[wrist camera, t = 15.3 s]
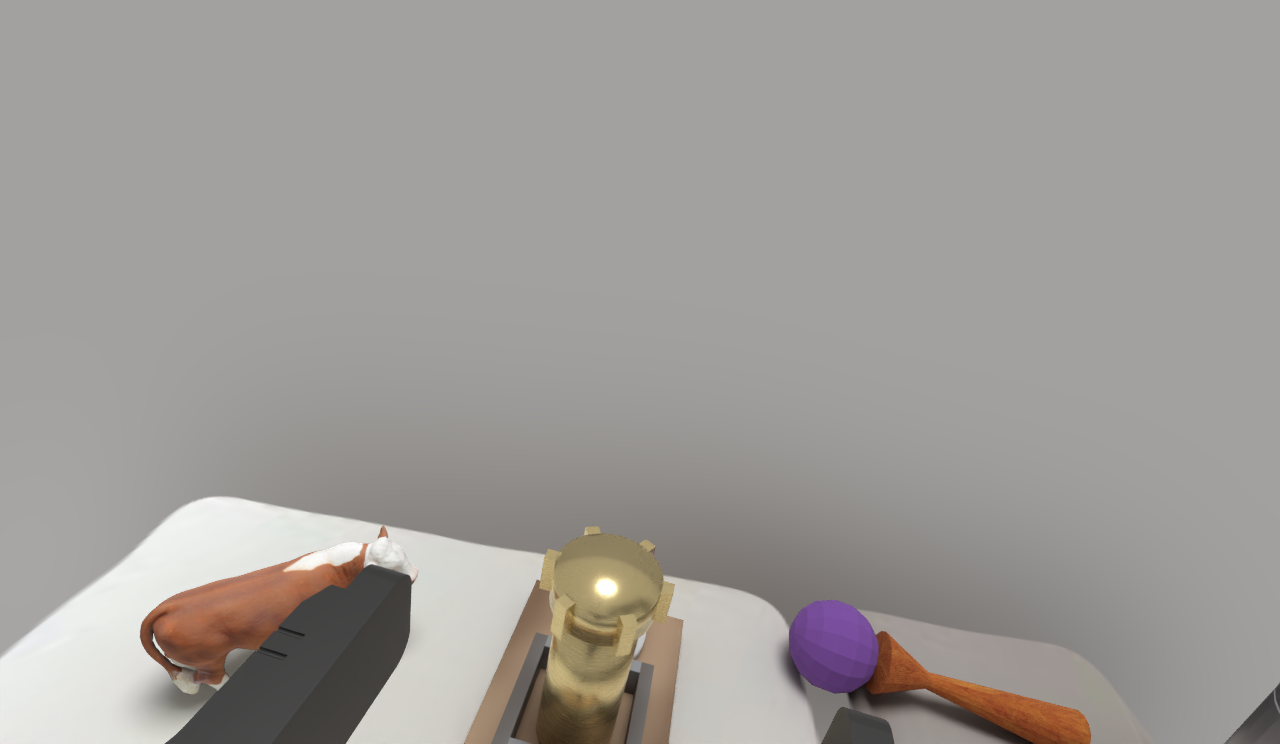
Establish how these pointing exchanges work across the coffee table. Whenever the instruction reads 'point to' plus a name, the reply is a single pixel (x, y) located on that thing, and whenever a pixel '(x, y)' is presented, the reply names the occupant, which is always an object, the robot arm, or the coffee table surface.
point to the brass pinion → (595, 631)
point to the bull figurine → (251, 608)
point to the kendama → (912, 674)
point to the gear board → (513, 697)
